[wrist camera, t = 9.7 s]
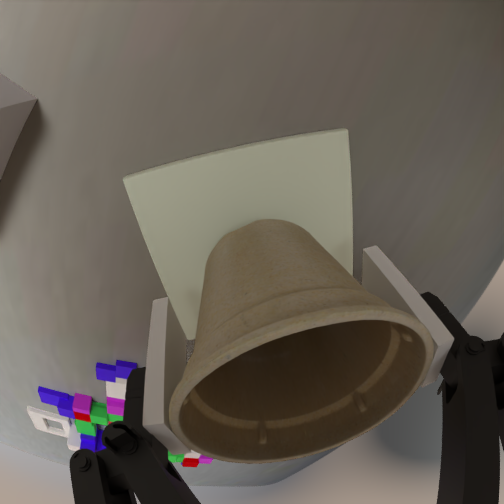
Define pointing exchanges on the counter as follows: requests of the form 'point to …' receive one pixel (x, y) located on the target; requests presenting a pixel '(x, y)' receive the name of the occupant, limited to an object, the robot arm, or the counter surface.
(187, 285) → the coaster
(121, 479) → the robot arm
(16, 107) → the grey block
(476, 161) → the counter surface
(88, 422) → the building block set
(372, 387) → the flower pot
